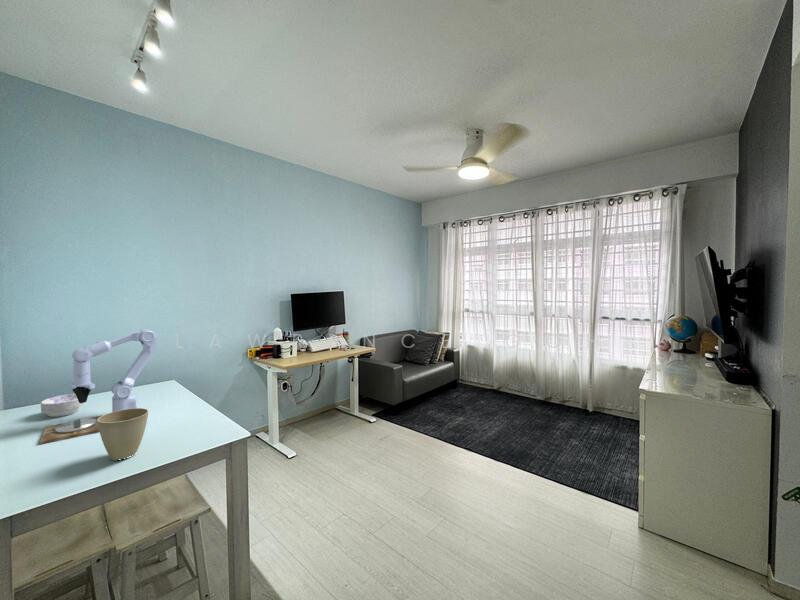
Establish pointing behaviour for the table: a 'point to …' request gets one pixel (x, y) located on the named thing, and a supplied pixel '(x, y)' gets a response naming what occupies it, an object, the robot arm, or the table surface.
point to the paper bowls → (60, 405)
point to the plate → (52, 436)
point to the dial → (75, 425)
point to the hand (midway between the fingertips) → (82, 402)
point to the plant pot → (122, 431)
